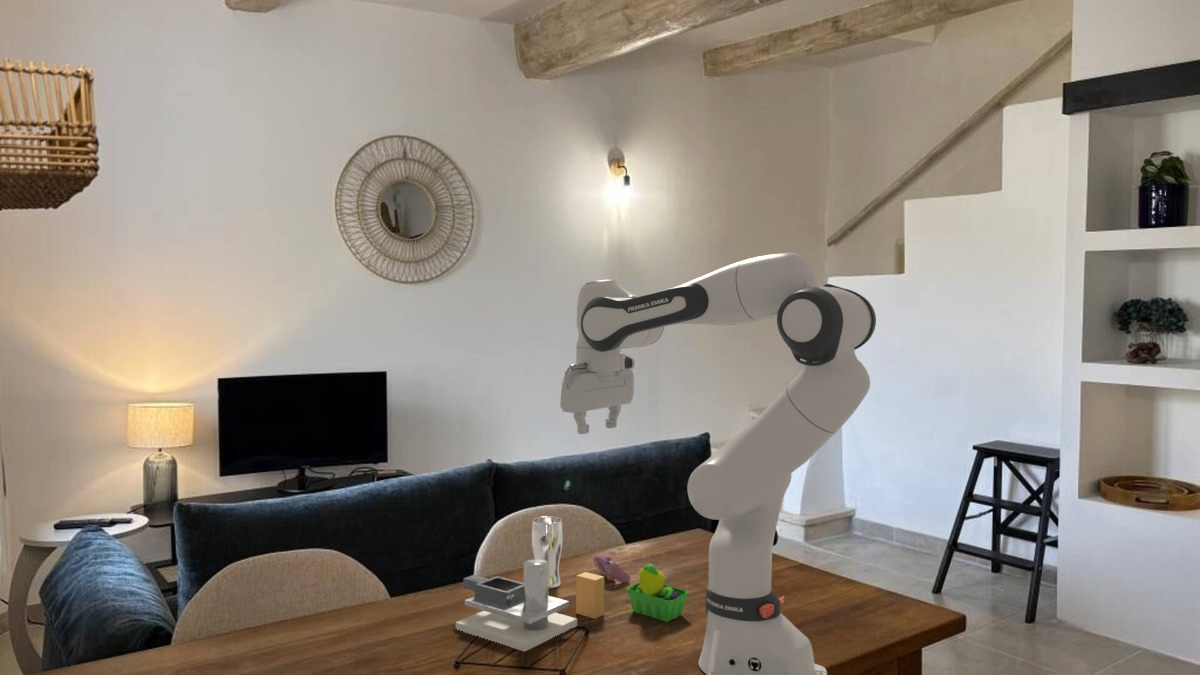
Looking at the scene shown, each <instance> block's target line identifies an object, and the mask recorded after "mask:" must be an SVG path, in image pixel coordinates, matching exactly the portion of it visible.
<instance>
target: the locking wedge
mask: <svg viewBox="0 0 1200 675" xmlns="http://www.w3.org/2000/svg"><path fill="white" fill-rule="evenodd" d="M575 580H576V588H575V590H576V591H575V592H576V594H575V600H576V601H575V602H576V603H575V604H576V607H575V609H576V610H575V614H577V615H581V616H583V617H584V616H585V617H588V618H591V619H594V620H595V619H598V618H600V617H602V616H604V615H605V576H604V575H601V574H600V575H599V574H595V573H591V572H586V571H585V572H584V571H583V572H581V573H580V574H577V575H576V578H575Z"/></svg>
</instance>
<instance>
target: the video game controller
mask: <svg viewBox="0 0 1200 675" xmlns="http://www.w3.org/2000/svg"><path fill="white" fill-rule="evenodd" d="M592 559H593V562H594V563H593V566H594V568H597V569H598V570H599V571H600V573H601V574H602V576H604V578H607V580H611V582H614V581H615V580H616V581H618V582H620V583H623V584H627V583H629V582H630V580H631V576H630V574H629V573H628V572H627V571H625V570H624V569H622V568H621V567H620V566H619V564H618V563H617V562H616V561H615V560H614V559H613V558H612V556H611V555H610V554H607V553H602V552H601V553H600V554H597V555H595V556H594V557H593V558H592Z"/></svg>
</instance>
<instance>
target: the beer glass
mask: <svg viewBox="0 0 1200 675" xmlns="http://www.w3.org/2000/svg"><path fill="white" fill-rule="evenodd" d="M562 522H563V520H562V518H560V517H558V516H553V515H551V516H550V515H543V516H537V517H535V518H533V520H532V527H531V528H532V529H531V530H532V531H531V543H532V544H531V545H532V552H533V557H534V559H539V560H545V561H547V562H548V590H549V589H556V588H558V587H560V586H561V585H562V584H561V583H562V582H561V577H560V569H559V567H560V561H561V555H562V550H563V535H564V534H563V523H562ZM534 559H533V560H534Z"/></svg>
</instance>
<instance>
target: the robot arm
mask: <svg viewBox="0 0 1200 675" xmlns="http://www.w3.org/2000/svg"><path fill="white" fill-rule="evenodd" d="M814 274H815V273H814V271H813V269H812V267H811V265H810V263H809V262H808V261H807V259H806V258H804V257H803V256H802V255H800V254H799V253H795V252H781V253H772V254H771V253H770V254H764V255H760V256H755V257H752V258H751V257H750V258H747V259H744V260H740V261H737V262H734V263H732V264H729V265H726V266H723V267H721V268H717V269H716V270H714V271H711V272H709V273H706V274H704V275H702V276H699V277H697V278H694V279H691V280H689V281H687V282H684V283H681V284H679V285H676V286H674V287H670V288H667V289H664V290H663V289H662V290H659V291H656V292H651V293H648V294H645V295H641V296H640V295H639V294H638V295H637V294H635V293H633V292H631V291H629V290H628V289H626V288H624V287H623V286H622V285H621V283H619V281H617V280H615V279H598V280H597V279H596V280H591V281H589V282H586V283H585V284H583V285H582V286H581V288H580V290H579V293H578V298H577V306H576V328H577V332H578V336H577V340H576V352H575V353H576V355H575V356H576V357H575V362H576V363H575V364H574V363H572V364H570V365H569V366H568V368H567V369H566V371H565V372H564V377H563V378H562V384H561V390H560V391H561V392H560V405H559V406H560V408H561V410H562V412H563V413H571V414H573V418H574V421H575V423H576V425H577V434H579V435H585V434H589V433H590V424H587V420H586V417H587V412H589V411H595V410H599V409H605V408H608V411H609V413H608V417H607V418H605V427H606V428H607V429H614V428H615V429H616V428H617V427H618V426H617V425H618V424H617V423H618V417H619V415H620V414H621V411H622V410H621V408H622V406H623V405H624V406H625V405H628V404H631V403H632V401H633V398H634V390H635V389H634V387H635V376H634V372H633V369H635V364H636V363H635V359H634V358H633V357H631V356H629V355H627V354H625V353H623V352H621V351H622V349H632V348H642V347H648V346H650V345H653V344H655V343H657V342H658V340H659V339H660V338H661V337H662V334H663V332H664V329H665V327H668V326H673V325H687V324H688V325H691V324H692V325H708V326H710V325H711V326H738V325H747V324H753V323H757V322H763V321H765V320H769V319H773V318H776V323H777V330H778V332H779V334H780V337H781V339H782V340H783V342H784V343H785V344H786V345H787V346H788V347H789V350H790V351H791V354H792V355H793V357H794V359H795V360H796V361H797V362H798V363H799V364H801V365H803V367H802V369H801V370H800V372H799V373H798V374H797V376H795V377H794V378H793V380H791V381H790V383H789V384H787V385H786V387H785V388H784V389H783V390H781V392H780V393H779V394H778V395H777V396H776V397H775V398H774V400H772V402H771V403H770V404H769V405H767V407H766V408H765V409H764V410H763V411H762V412H761V413H760V414H759V415H758V416H757V417H756V418H755V419H754V420H753V421H751V422H750V423H749V424H747V426H746V425H745V427H743V429H741V430H740V431H739V432H738V433H737V434H735V435H734V436H732V438H730V439H729V440H728V441H727V442H726V443H725V444H723V445H722V446H721V447H720V448H719V449H718V450H717V451H715V452H714V453H713V454H712V455H710V457H709V458H707V459H706V460H704V462H702V463H701V464H700V465H698V466H697V467H696V468H694V470H693V471H692V472H691V474H690V476H689V477H688V481H687V487H686V488H687V495H688V496H687V497H688V500H689V502H690V505H691V506H692V507H693V509H694V510H695V511H696V512H697V513H698V514H699V515H700V516H702V517H703V518H705V519H708V520H709V519H710V520H718V524H717V526H716V529H715V532H714V534H713V536H712V537H711V539H710V542H709V546H708V584H707V586H706V590H705V591H706V592H705V613H706V617H707V618H706V628H705V632H704V633H705V634H704V640H703V645H702V649H701V653H700V657H699V659H698V666H699V668H700V670H701V671H702V672H703V673H704V674H705V675H828V671H827V669H826V667H824V666H823V665H820V664H817V663H815V657H814V651H813V647H812V643H811V641H810V639H809V638H808V637H807V636H806V635H805V634H804V633H803V632H801V631H800V630H799V629H798V628H797V626H795V625H794V624H793V623H792V622H791V620H789V619H788V618H787V617H786V616H785V615H784V614H783V613H781V605H783V604H784V603H785V600H784V599H785V595H782V596H781V597H777V595H776V594H775V592H774V590H773V588H772V573H773V572H772V567H773V565H772V563H773V546H774V540H775V535H776V531H777V530H776V529H777V526H778V520H779V516H780V512H781V507H782V504H783V500H784V497H785V494H786V493H787V490H788V488H789V487H790V485H791V481H792V473H793V472H795V471H796V470H798V468H800V467H802V466H803V465H804V464H806V463H807V462H808V461H809V460H810V459H812V457H813V456H814V455H815V454H816V453H817V452H818V451H819V450H820V449H821V448H822V447H823V446H824V445H825V444H826V443H827V442H828V440H830V439H831V438H832V436H834V435H835V434H836V433H837V432H838V431H839V430H840V429H841V428H842V427H843V426H844V424H845V423H846V422H847V421H848V420H849V419H850V418H851V417H852V416H853V415H854V413H855V412H856V410H857V408H858V407H859V406H860V405H861V404H862V402H863V400H864V399H865V397H866V395H867V394H868V393H869V390H870V387H871V378H870V374H869V373H868V371H867V368H866V367H865V366H864V365H863V363H862V362H861V361H860V360H859V359H858V358H857V356H856V352H855V351H856V350H858V349H859V348H861V347H862V346H864V345H865V344H866V343H867V342H869V340H870V339H871V338H872V336H873V334H874V332H875V329H876V324H877V323H876V322H877V316H876V311H875V309H874V307H873V306H872V304H871V302H870V301H869V300H868V299H866V298H865V297H864V296H863V295H861V294H859V293H858V292H856V291H853V290H850V289H848V288H844V287H841V286H836V285H834V284H831V283H826V284H824V285H821V284H819V283H818V282H817V281H816V278H815V275H814ZM621 405H622V406H621Z"/></svg>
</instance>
